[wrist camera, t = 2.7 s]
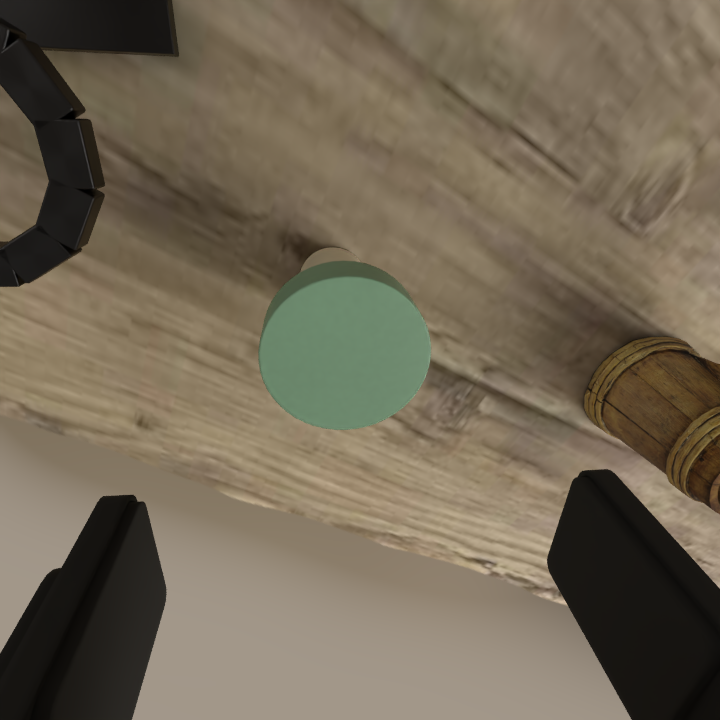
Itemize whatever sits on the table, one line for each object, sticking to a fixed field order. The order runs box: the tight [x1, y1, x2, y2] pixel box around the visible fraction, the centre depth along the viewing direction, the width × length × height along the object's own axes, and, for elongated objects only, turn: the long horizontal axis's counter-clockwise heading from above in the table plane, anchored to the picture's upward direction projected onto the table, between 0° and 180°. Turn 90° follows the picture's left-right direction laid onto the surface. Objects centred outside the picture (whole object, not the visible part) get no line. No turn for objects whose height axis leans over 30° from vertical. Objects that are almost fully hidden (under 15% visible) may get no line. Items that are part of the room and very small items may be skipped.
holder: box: [0, 0, 179, 287], centre depth 17 cm, size 10×18×12 cm, turn 178°
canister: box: [259, 247, 431, 430], centre depth 25 cm, size 8×8×11 cm
